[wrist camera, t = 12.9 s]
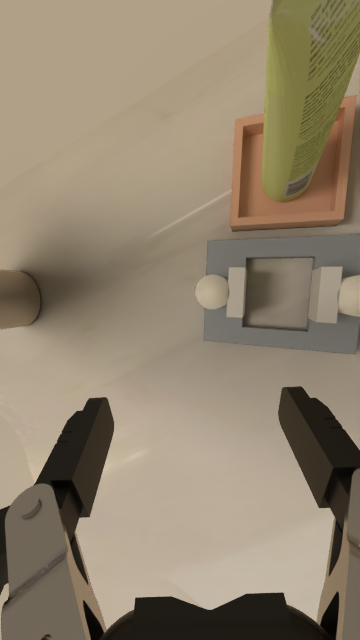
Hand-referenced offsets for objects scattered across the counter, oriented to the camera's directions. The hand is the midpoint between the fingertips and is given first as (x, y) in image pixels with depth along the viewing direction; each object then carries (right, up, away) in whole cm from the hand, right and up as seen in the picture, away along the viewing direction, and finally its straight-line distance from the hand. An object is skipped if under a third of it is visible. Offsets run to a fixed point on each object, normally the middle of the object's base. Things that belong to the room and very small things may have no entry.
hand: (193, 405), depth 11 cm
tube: (+11, +19, +14) cm, 26 cm away
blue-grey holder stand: (+10, +7, +16) cm, 20 cm away
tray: (+11, +19, +15) cm, 27 cm away
